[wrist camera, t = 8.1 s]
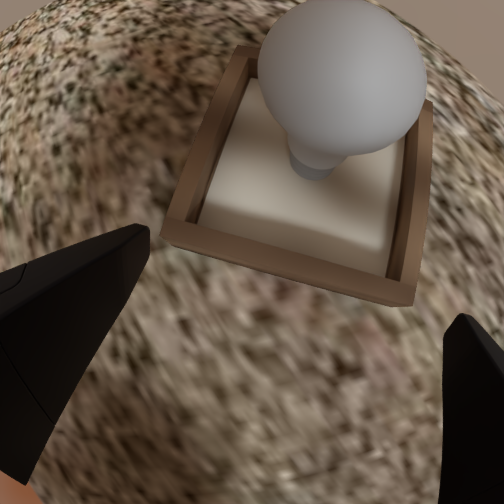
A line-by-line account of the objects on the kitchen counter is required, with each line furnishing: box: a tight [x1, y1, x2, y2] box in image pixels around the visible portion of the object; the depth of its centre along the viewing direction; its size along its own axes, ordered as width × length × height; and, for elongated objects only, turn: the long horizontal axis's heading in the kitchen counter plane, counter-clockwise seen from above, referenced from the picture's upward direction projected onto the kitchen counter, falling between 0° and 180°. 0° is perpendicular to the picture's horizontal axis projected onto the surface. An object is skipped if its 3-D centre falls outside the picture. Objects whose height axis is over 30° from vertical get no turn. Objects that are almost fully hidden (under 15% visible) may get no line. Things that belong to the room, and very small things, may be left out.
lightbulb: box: [258, 0, 427, 180], centre depth 12 cm, size 6×6×11 cm
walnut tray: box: [159, 45, 433, 307], centre depth 17 cm, size 13×13×3 cm
